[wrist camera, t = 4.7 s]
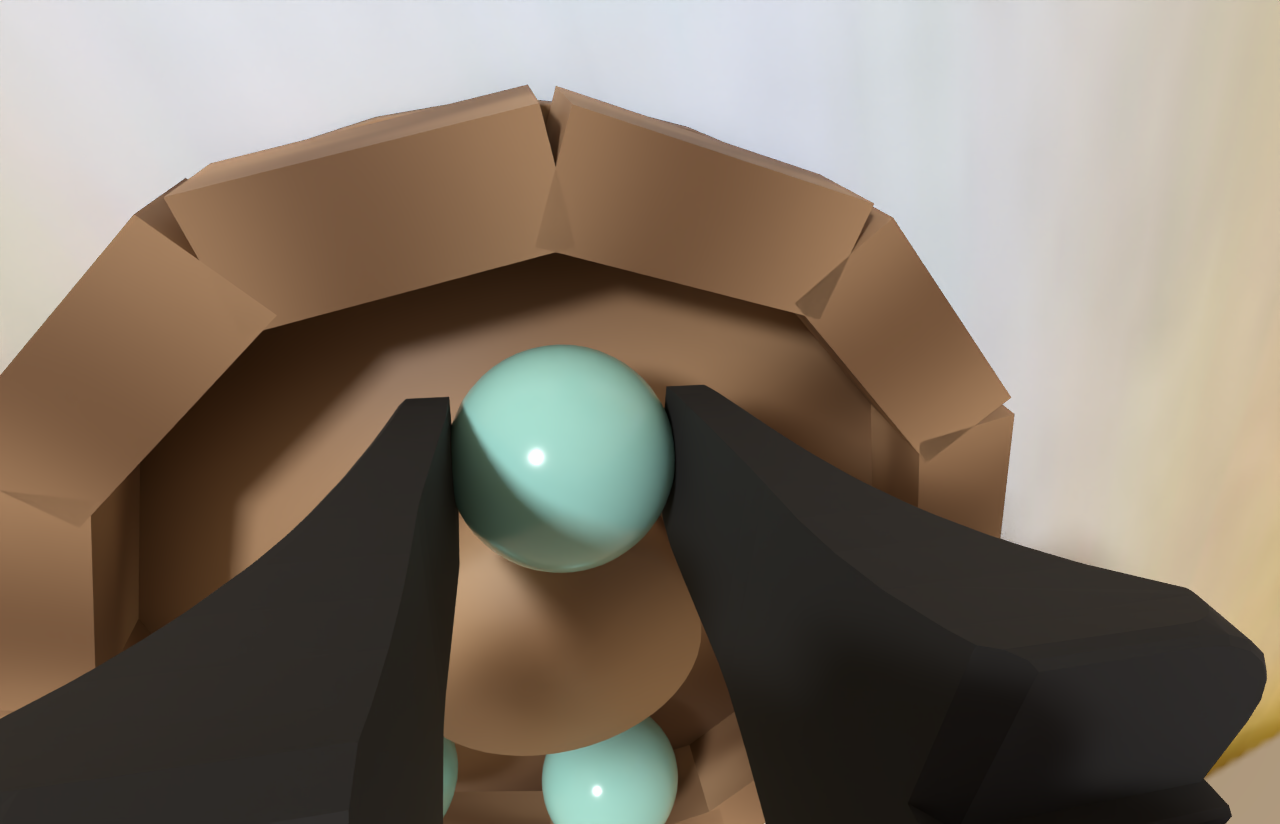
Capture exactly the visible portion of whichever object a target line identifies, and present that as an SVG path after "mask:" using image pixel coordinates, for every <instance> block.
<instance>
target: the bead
mask: <svg viewBox="0 0 1280 824" xmlns="http://www.w3.org/2000/svg"><path fill="white" fill-rule="evenodd" d="M451 454H452V474H453V487H454V497H455V504H456V507H457V509H458V511H459V512H460V514H461V516H462V518H463V519H464V521H465V523H466V524H467V526H468V527H469V528H470V529H471V531H472V532H473V533H474V535H476V536H477V537H478V538H479V539H480V540H481V541H482V542H483V543H484V544H485V545H486V546H487V547H488V548H489V549H491V550H492V551H494V552H495V553H496V554H498V555H499V556H501V557H503V558H505V559H507V560H509V561H511V562H513V563H515V564H517V565H520V566H522V567H525V568H529V569H533V570H537V571H544V572H553V573H568V572H577V571H584V570H588V569H591V568H595V567H598V566H601V565H603V564H606V563H608V562H610V561H612V560H614V559H616V558H617V557H619V556H621V555H622V554H624V553H625V552H627V551H628V550H629V549H631V548H632V547H633V546H635V545H636V544H637V543H638V542H639V541H640V540H641V539H642V538H643V537H644V536H645V535H646V534H647V533H648V532H649V530H650V529H651V528H652V526H653V525H654V524H655V522H656V521H657V519H658V518H659V516H660V515H661V513H662V511H663V509H664V507H665V505H666V502H667V499H668V497H669V494H670V491H671V488H672V484H673V479H674V472H675V449H674V439H673V434H672V429H671V425H670V422H669V419H668V416H667V413H666V411H665V409H664V407H663V405H662V403H661V401H660V400H659V398H658V397H657V395H656V394H655V392H654V391H653V389H652V388H651V387H650V385H649V384H648V383H647V382H646V381H645V380H644V379H643V378H642V377H641V376H640V375H639V374H638V373H637V372H636V371H634V370H633V369H632V368H630V367H629V366H628V365H627V364H625V363H623V362H622V361H620V360H618V359H617V358H615V357H613V356H611V355H608V354H606V353H604V352H601V351H599V350H595V349H592V348H588V347H584V346H577V345H560V344H557V345H547V346H541V347H536V348H532V349H528V350H525V351H522V352H520V353H517V354H515V355H513V356H511V357H509V358H506V359H504V360H503V361H501V362H500V363H498V364H497V365H495V366H494V367H492V368H491V369H490V370H489V371H487V372H486V373H485V374H484V375H483V376H482V377H481V378H480V379H479V380H478V381H477V382H476V383H475V384H474V386H473V387H472V388H471V389H470V390H469V392H468V393H467V395H466V396H465V398H464V399H463V400H462V402H461V404H460V406H459V408H458V410H457V412H456V415H455V417H454V419H453V422H452V426H451Z"/></svg>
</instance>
